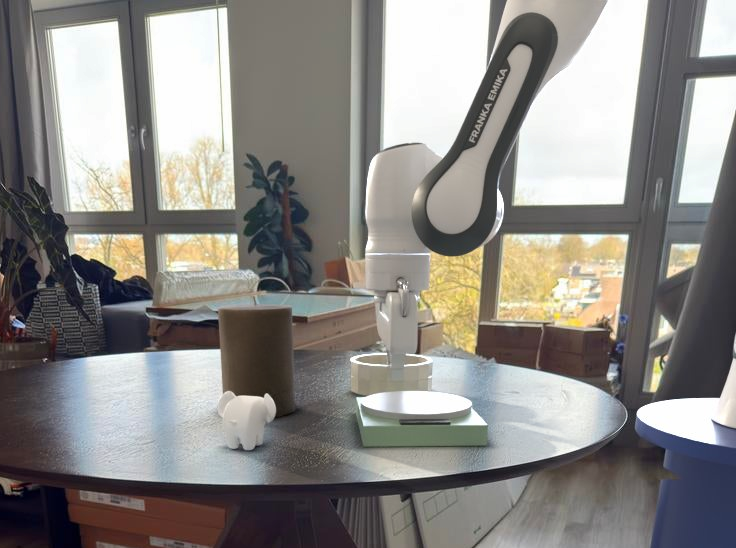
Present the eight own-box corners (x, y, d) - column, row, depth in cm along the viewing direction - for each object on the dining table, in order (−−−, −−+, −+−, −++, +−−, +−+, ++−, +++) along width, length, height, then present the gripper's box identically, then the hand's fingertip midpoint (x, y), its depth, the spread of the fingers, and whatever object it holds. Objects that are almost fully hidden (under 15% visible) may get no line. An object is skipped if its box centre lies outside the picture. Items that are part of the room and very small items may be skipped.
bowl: (424, 384, 116) (425, 353, 114) (436, 400, 105) (437, 365, 103) (349, 385, 116) (349, 353, 114) (352, 401, 104) (352, 366, 103)
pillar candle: (279, 421, 93) (274, 299, 87) (210, 415, 95) (202, 297, 90) (306, 405, 101) (303, 294, 96) (242, 401, 104) (236, 292, 99)
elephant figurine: (289, 439, 84) (288, 388, 82) (259, 457, 77) (256, 402, 75) (237, 434, 86) (234, 384, 84) (203, 451, 79) (199, 397, 77)
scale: (460, 414, 97) (461, 390, 95) (486, 445, 82) (488, 418, 80) (356, 414, 96) (356, 390, 95) (363, 446, 81) (363, 418, 80)
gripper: (431, 280, 89) (427, 391, 94) (411, 273, 108) (408, 366, 113) (380, 280, 89) (378, 391, 94) (369, 273, 108) (368, 366, 113)
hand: (395, 377), depth 104 cm, fingers open, 3 cm apart
